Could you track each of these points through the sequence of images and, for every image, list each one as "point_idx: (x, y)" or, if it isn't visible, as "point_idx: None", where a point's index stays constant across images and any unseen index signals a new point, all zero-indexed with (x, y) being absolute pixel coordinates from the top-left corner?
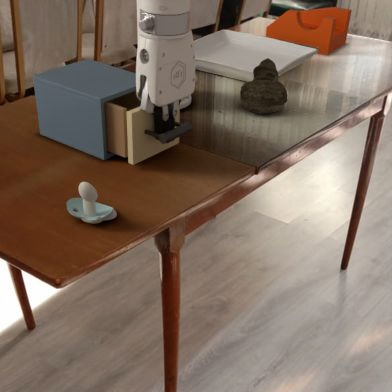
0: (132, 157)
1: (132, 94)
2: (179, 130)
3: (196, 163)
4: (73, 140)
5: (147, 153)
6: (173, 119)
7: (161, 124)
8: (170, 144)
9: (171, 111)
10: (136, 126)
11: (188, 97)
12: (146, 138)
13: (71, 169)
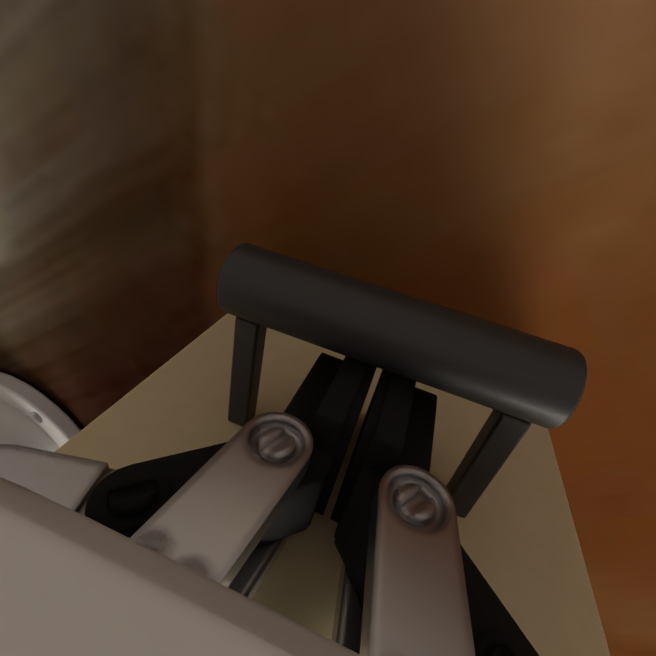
0: (551, 451)
1: None
2: (378, 313)
3: (339, 158)
4: None
5: (443, 399)
6: (336, 415)
7: (424, 467)
8: (284, 335)
9: (294, 483)
10: (553, 606)
11: None
12: (445, 461)
13: (607, 583)
